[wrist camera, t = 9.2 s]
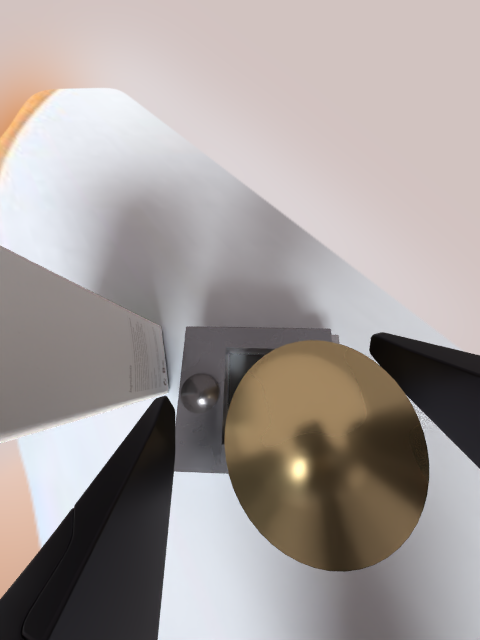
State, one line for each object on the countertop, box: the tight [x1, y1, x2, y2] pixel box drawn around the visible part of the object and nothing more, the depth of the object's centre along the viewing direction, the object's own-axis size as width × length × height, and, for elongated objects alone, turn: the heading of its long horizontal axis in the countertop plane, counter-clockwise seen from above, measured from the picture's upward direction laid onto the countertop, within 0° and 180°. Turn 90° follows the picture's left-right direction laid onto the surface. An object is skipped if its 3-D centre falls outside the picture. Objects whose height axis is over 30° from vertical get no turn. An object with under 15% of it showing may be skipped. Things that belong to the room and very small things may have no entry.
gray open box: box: [174, 327, 339, 474], centre depth 14 cm, size 12×9×5 cm
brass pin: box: [225, 340, 429, 571], centre depth 10 cm, size 4×4×13 cm
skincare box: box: [0, 246, 169, 443], centre depth 10 cm, size 8×7×16 cm
